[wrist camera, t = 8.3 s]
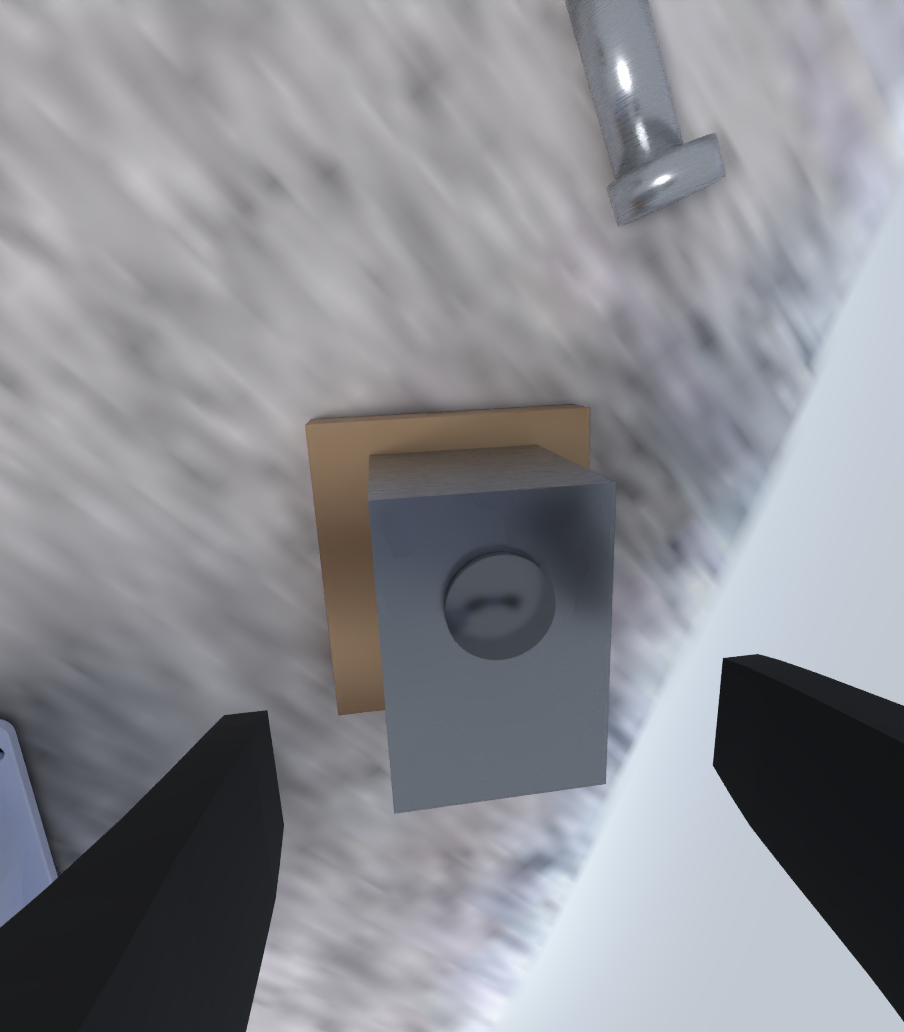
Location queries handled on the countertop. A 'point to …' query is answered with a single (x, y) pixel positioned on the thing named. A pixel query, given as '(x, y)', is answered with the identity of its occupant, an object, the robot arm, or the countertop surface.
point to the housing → (492, 621)
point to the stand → (345, 511)
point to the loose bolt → (638, 110)
